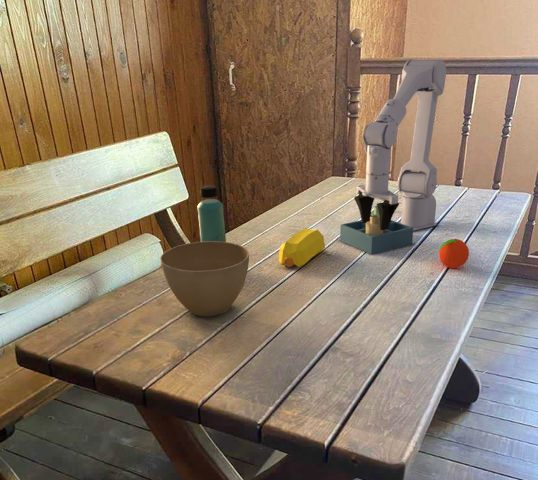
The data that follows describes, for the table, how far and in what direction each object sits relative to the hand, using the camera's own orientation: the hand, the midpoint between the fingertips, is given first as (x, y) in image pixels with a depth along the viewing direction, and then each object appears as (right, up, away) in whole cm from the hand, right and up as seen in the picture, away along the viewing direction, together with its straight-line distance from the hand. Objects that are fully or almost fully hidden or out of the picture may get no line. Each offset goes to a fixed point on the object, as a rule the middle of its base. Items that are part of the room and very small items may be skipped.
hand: (374, 225), depth 153 cm
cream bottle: (0, -5, +3) cm, 5 cm away
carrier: (+1, -3, +7) cm, 8 cm away
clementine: (+16, -13, -12) cm, 24 cm away
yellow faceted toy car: (-19, -9, -3) cm, 22 cm away
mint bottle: (+3, 0, +10) cm, 11 cm away
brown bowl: (-41, -24, -28) cm, 55 cm away
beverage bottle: (-41, -12, -5) cm, 43 cm away
